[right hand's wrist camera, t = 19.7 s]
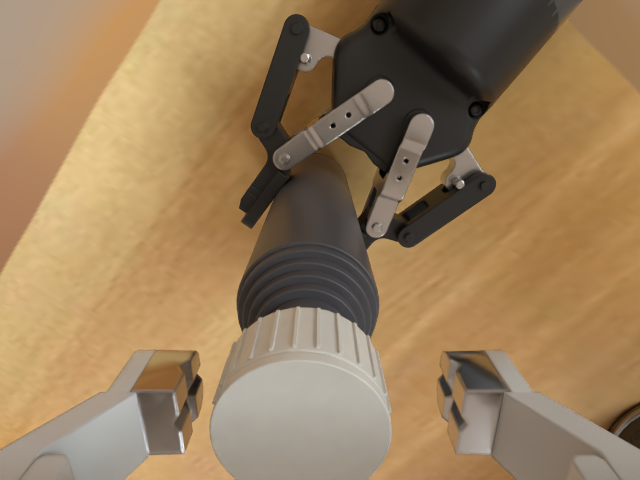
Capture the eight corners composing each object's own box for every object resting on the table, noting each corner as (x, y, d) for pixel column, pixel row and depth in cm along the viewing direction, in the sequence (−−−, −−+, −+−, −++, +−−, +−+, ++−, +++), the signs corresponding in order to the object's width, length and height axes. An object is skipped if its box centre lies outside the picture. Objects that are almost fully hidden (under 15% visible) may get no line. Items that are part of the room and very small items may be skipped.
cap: (196, 373, 11) (168, 439, 9) (299, 272, 10) (293, 321, 8) (308, 452, 11) (306, 528, 9) (412, 368, 10) (434, 433, 8)
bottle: (354, 162, 29) (437, 351, 8) (337, 223, 30) (373, 507, 10) (289, 146, 28) (212, 303, 8) (276, 209, 30) (182, 473, 10)
